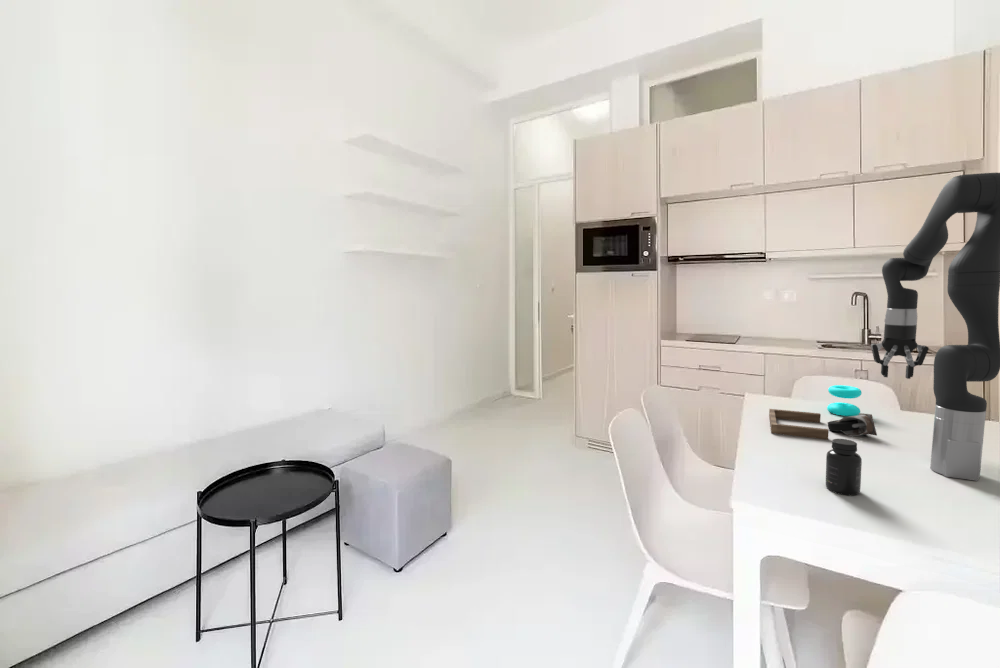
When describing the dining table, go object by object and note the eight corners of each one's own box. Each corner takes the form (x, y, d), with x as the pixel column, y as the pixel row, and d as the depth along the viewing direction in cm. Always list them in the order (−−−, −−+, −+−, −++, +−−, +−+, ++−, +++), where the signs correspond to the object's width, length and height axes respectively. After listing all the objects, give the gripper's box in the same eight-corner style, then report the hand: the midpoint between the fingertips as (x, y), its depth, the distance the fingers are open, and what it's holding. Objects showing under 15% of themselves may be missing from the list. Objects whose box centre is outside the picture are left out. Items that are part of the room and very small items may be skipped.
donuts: (857, 391, 167) (824, 387, 174) (855, 419, 168) (823, 413, 176) (865, 387, 173) (833, 383, 181) (863, 413, 174) (831, 408, 182)
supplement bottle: (845, 483, 116) (848, 436, 115) (867, 495, 109) (870, 446, 108) (818, 484, 116) (820, 437, 115) (838, 496, 109) (841, 447, 108)
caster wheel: (825, 435, 159) (856, 431, 157) (845, 439, 148) (879, 435, 146) (820, 416, 159) (852, 411, 158) (840, 418, 148) (873, 414, 147)
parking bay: (828, 439, 147) (828, 430, 147) (771, 433, 154) (771, 424, 154) (819, 421, 166) (820, 413, 165) (769, 416, 173) (769, 408, 173)
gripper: (874, 323, 144) (870, 378, 146) (935, 324, 137) (930, 381, 139) (868, 321, 151) (865, 373, 152) (927, 322, 144) (922, 377, 146)
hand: (896, 377), depth 146 cm, fingers open, 5 cm apart
